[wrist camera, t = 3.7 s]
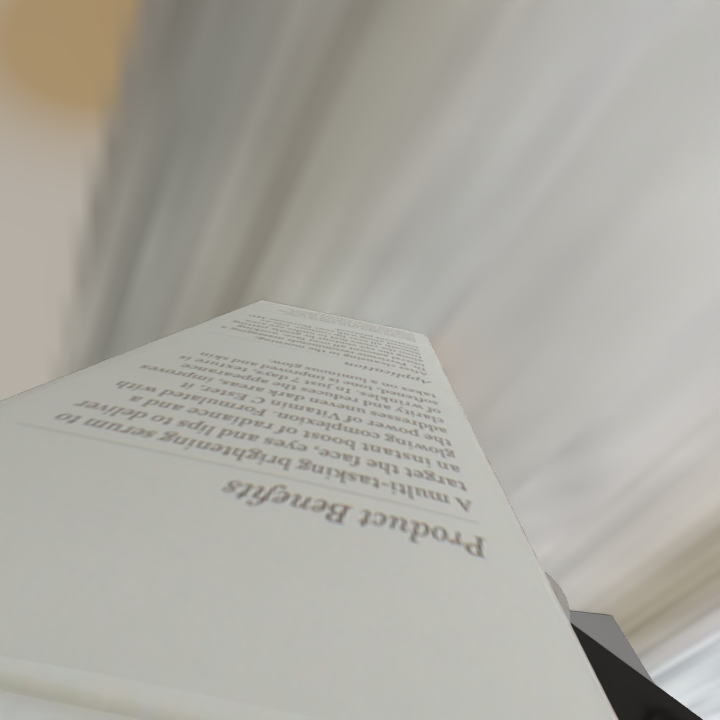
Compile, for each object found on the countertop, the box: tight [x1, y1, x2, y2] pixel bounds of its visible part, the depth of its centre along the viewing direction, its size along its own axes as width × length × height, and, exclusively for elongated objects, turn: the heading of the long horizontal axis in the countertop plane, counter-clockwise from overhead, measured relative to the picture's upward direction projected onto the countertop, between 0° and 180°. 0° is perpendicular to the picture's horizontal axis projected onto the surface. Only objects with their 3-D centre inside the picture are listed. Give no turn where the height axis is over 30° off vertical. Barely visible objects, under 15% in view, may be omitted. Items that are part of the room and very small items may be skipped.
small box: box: [0, 300, 618, 720], centre depth 8 cm, size 8×6×10 cm
